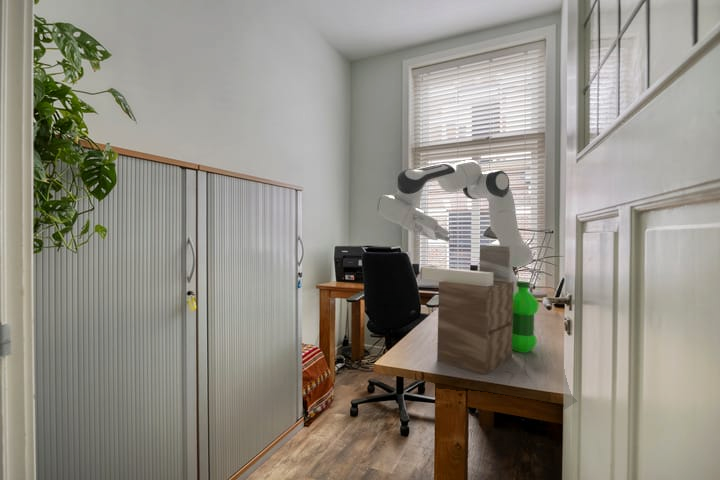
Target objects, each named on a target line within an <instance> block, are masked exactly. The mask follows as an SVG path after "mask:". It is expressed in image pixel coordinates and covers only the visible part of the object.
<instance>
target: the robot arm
mask: <svg viewBox="0 0 720 480" xmlns="http://www.w3.org/2000/svg"><path fill="white" fill-rule="evenodd" d="M481 167H482V166H481V165H480V164H479V163H478V162H477V161H475V160H470V159H469V160H465V161H460V162H457V163H455V164H451V163H449V162H448V163H447V162H444V163H443V162H441V163H437V164H433V165H428V166H423V167H418V168H407V169H405V170H403V171H401V172H400V173H399V174H398V176H397V188H396V192H395V193H393V194H382V195H381V197H380V199H379V200H378V203H377V213H378V214H379V215H380V216H381V217H383V218H384V219H385V220H388V221H390V222H391V223H394V224H398V225H399V226H400V227H401V228H403V229H405V230H407V231H410V232H411V233H413V234H415V235H420V236H423V237H425V238H428V239H430V240H433V241H437V240H438V239H439V240H442V241H445V242H446V243H449V242H450V239H451V238H450V236H449V234H450V232H449V230H447V229H445V228H444V227H442V226H441V225H439V223H438V220H437V219H435V218H433V217H431V216H429V215H426V212H425V211H423V210H422V209H420V208H419V206H420V203H421V199H422V194H423V190H424V187H425V185H426V184H427V183H429V182H432V181H436V180H437V182H438V185H439V186H440V188H441V189H442V190H443V191H444V192H447V193H450V194H451V193H452V194H453V193H457V192H460V191H461V190H462V192H463V194H464V195H465V197H467V198H468V199H470V200H479V199H487V202H488V213H489V225H490V230H491V232H492V233H493V234H495V236H496V239H497V240H496V241H493V242H489V243H488V244H486V245H485V246H510V270H509V281H513V282H514V293H516V292H517V291H518V287H517V281H520V280H519V278H518V276H516V275H517V274H515V272H514V268H520V267H525V266H528V265H529V264H530V263H531V261H532V259H533V251H532V249H531V247H530V246H529V245H528V244H527V243H526V242H525V240H524V239H523V237H522V235H521V233H520V230H519V226H518V221H517V214H516V211H517V210H516V204H515V203H516V202H515V199H514V196H513V192H512V190H511V189H510V179H509V176H508V174H507V173H506V172H505V171H504V170H499V169H497V170H495V169H494V170H491V171H483V172H482V168H481ZM514 293H513V294H514Z"/></svg>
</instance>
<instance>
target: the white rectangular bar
mask: <svg viewBox="0 0 720 480" xmlns="http://www.w3.org/2000/svg"><path fill="white" fill-rule="evenodd" d="M420 279H421V280H429V281H435V282H436V281H437V282H438V281H439V282H443V281H444V282H452V283H461V284H469V285H477V286H485V287H488V286H492V285H493V273H492V272H482V271H479V270H470V269H469V270H467V269H457V268H450V267H449V268H447V267H437V266H436V267H435V266H421V267H420Z"/></svg>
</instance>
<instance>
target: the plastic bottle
mask: <svg viewBox="0 0 720 480" xmlns="http://www.w3.org/2000/svg"><path fill="white" fill-rule="evenodd" d="M517 287H518V291H517V292H516V293H514V294H513V331H512V350H514V351H515V352H518V353H525V354H526V353H529V352H531V351H532V350H533V349H534V348H535V347H536V345H537V343H538V342H537V337H536V335H535V314H536V313H537V312H538V311H539V305H540V303H539V301H538V299H537V298H536V297H535V296H534V295H533V294H532V293H530V291H529V288H530V281H527V280H526V281H524V280H519V281H517Z"/></svg>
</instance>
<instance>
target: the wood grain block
mask: <svg viewBox="0 0 720 480" xmlns="http://www.w3.org/2000/svg"><path fill="white" fill-rule="evenodd" d="M478 267H479V268H478V269H479V270H478V271H482V272H492V273H493V285H492V286H488V287H485V286H477V285H469V284H461V283H452V282H444V281H439V282H438V301H437V303H438V304H437V305H438V306H437V309H438V311H437V349H436V352H437V353H436V357H437V358H436V361H437V362H439V363H444V364H447V365H450V366H453V367H457V368H460V369H463V370H466V371H469V372H473V373H476V374H479V375H483V376H485V375H487V374H488V373H489V372H491V371H493V370H494V369H496V368H497V367H499V366H500V365H502V364H503V363H505V362H507V361H508V360H510V359H511V358H512V356H513V348H512V331H513V293H514V282H513V281H509V270H510V246H486V245H485V244H484V245H479V265H478Z"/></svg>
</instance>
